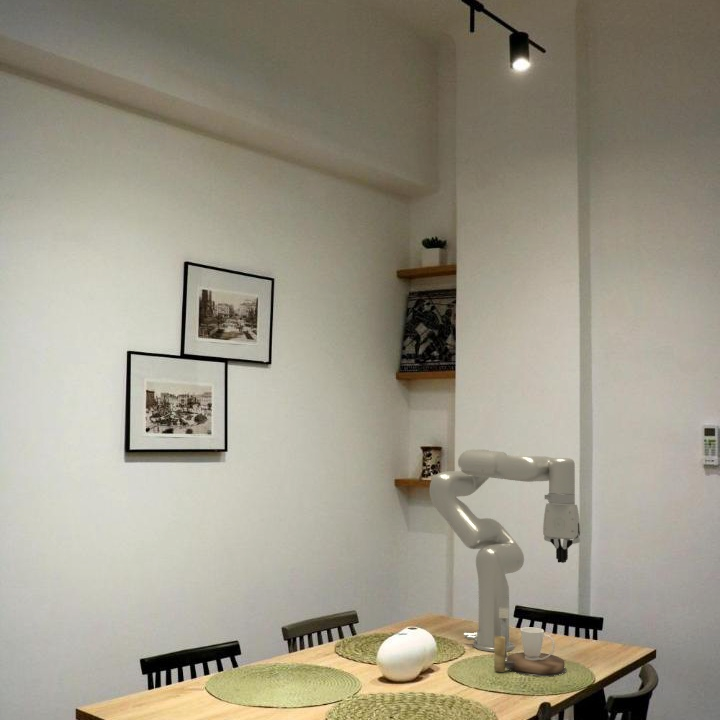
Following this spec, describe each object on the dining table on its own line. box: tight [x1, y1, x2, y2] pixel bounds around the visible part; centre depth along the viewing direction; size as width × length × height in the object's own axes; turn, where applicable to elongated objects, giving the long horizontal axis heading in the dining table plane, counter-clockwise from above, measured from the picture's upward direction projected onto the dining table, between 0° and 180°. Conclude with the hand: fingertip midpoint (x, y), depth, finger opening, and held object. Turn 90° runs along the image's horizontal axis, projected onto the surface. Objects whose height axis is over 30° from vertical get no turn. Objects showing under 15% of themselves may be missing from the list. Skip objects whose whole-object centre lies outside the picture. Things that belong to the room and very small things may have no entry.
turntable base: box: [506, 667, 567, 677], centre depth 244 cm, size 17×17×1 cm
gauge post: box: [499, 607, 510, 660], centre depth 254 cm, size 5×5×15 cm
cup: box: [519, 626, 556, 660], centre depth 244 cm, size 7×10×8 cm
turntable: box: [493, 636, 565, 674], centre depth 243 cm, size 22×16×9 cm
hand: (562, 562), depth 253 cm, fingers closed
